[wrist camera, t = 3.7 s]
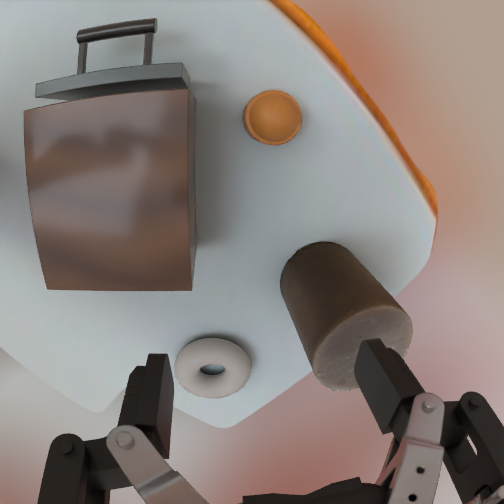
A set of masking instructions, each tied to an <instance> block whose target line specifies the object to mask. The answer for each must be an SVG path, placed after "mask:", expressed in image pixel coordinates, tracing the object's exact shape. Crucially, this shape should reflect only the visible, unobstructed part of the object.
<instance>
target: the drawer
mask: <svg viewBox="0 0 504 504" xmlns="http://www.w3.org/2000/svg"><path fill="white" fill-rule="evenodd" d="M156 32H157V19H156V18H152V19H143V20H134V21H127V22H120V23H114V24H108V25H102V26H97V27H92V28H87V29H83V30H79V31H78V33H77V42H78V44H80V45H79V56H78V70H77V75H73V76H68V77H63V78H59V79H54V80H50V81H46V82H42V83H38V84H36V90H35V97H36V98H48V99H59V100H69V101H72V100H77V99H83V98H90V97H96V96H103V95H111V94H119V93H129V92H139V91H151V90H167V89H189V84H190V77H189V75H188V73H187V71H186V69H185V67H184V65H183V63H164V64H152V49H153V36H154V34H153V33H156ZM141 34H145V47H144V62H143V65H140V66H130V67H122V68H114V69H107V70H101V71H94V72H89V73H85V70H86V56H87V45H88V44H87V43H89V42H94V41H100V40H105V39H111V38H118V37H125V36H133V35H141Z"/></svg>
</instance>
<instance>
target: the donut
mask: <svg viewBox="0 0 504 504" xmlns="http://www.w3.org/2000/svg"><path fill="white" fill-rule="evenodd" d="M209 364H216V365H220V366H222V367H224V368H225V371H224V372H222V373H220V374H218V375H207V374H204V373H202V372H201V371H200V368H201V367H203V366H205V365H209ZM174 370H175V376H176V378H177V380H178V382H179V383H180V385H181V386H182V387H183V388H184V389H186V390H187V391H188V392H190V393H192V394H194V395H196V396H199V397H204V398H222V397H227V396H229V395H231V394H234V393H236V392H238V391H239V390H240V389H241V388H242V387H244V386H245V384H246V382H247V380H248V379H249V377H250V371H251V364H250V361H249V358H248V356H247V354H246V353H245V352H244V351H243V350H242V349H241V347H239V346H238V345H236V344H234V343H232V342H231V341H228V340H224V339H220V338H204V339H200V340H195V341H194V342H192V343H190V344H188V345H186V346H185V347H184V348H183V349H182V350H181V351H180V352H179V353H178V355H177V358H176V361H175V363H174Z"/></svg>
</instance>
